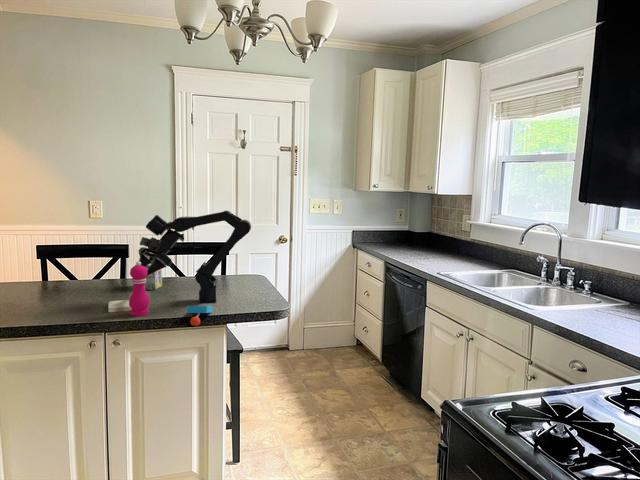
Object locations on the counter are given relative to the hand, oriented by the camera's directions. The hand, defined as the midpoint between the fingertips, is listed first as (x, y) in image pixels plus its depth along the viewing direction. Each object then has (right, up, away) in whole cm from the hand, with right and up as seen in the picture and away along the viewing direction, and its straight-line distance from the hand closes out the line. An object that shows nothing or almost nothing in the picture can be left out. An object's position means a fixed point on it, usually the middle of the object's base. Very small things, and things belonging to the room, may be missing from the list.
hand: (140, 273), depth 182 cm
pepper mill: (+3, -15, -9) cm, 17 cm away
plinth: (-6, -13, -1) cm, 15 cm away
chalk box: (-8, -9, +31) cm, 33 cm away
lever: (+26, -16, -11) cm, 33 cm away
